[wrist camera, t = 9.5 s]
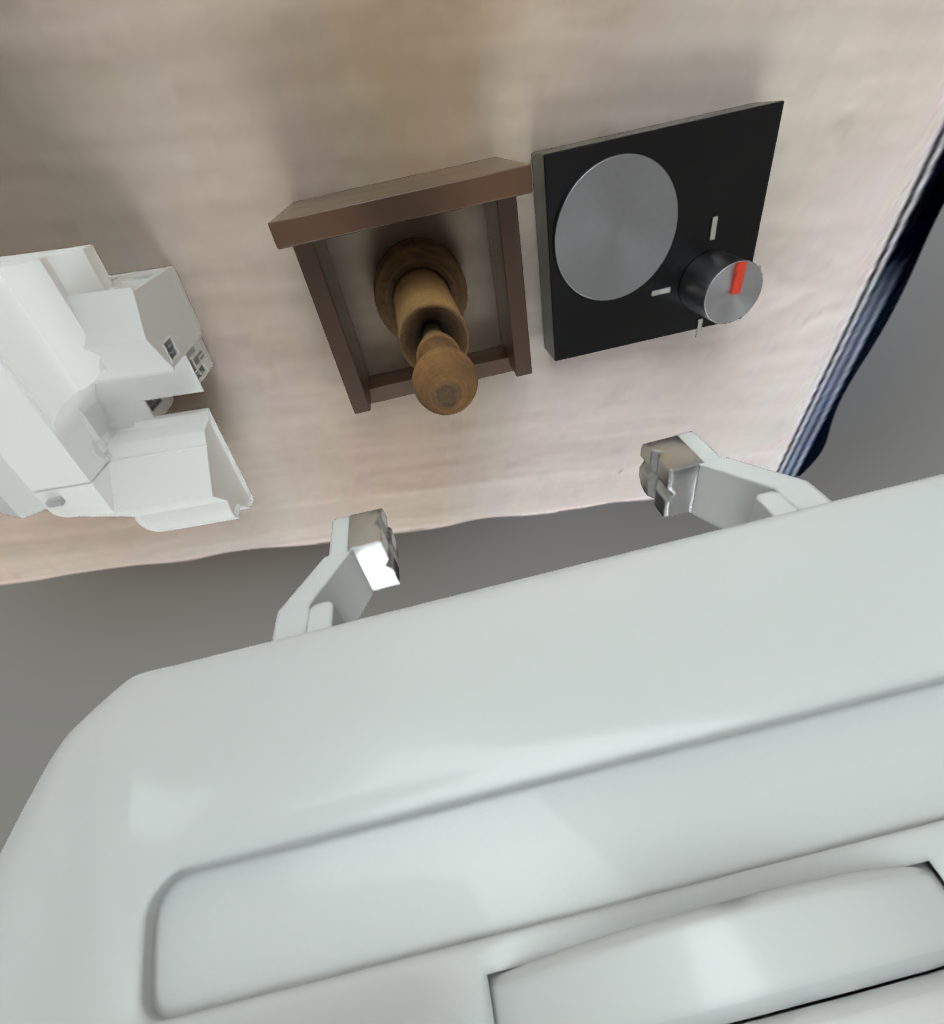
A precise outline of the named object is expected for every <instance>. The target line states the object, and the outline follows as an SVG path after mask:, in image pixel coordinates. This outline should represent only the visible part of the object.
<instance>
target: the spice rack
mask: <svg viewBox="0 0 944 1024" xmlns="http://www.w3.org/2000/svg"><path fill="white" fill-rule="evenodd" d="M532 191H533V189H532V174H531V165H530V164H526V163H522V162H517V161H512V160H507V159H502V158H497V157H493V158H488V159H484V160H479V161H475V162H470V163H466V164H462V165H457V166H453V167H448V168H444V169H439V170H435V171H430V172H426V173H421V174H417V175H413V176H408V177H404V178H399V179H395V180H390V181H386V182H381V183H377V184H372V185H368V186H364V187H359V188H355V189H350V190H346V191H341V192H337V193H332V194H328V195H323V196H319V197H315V198H310V199H306V200H301V201H297V202H293V203H292V204H291V205H290V206H288V207H287V208H286V209H285V210H284V211H282V212H281V213H280V214H279V215H278V216H276V217H275V218H274V219H273V220H272V221H270V222H269V223H268V226H269V228H270V231H271V233H272V236H273V238H274V241H275V244H276V246H277V248H278V249H284V248H288V247H293V248H294V251H295V253H296V256H297V259H298V261H299V264H300V267H301V269H302V272H303V275H304V278H305V280H306V283H307V286H308V288H309V291H310V294H311V296H312V299H313V302H314V305H315V307H316V310H317V313H318V315H319V318H320V321H321V323H322V326H323V329H324V332H325V334H326V337H327V340H328V342H329V345H330V348H331V350H332V353H333V356H334V359H335V361H336V364H337V367H338V369H339V372H340V375H341V377H342V380H343V383H344V386H345V388H346V391H347V394H348V396H349V399H350V402H351V405H352V407H353V410H354V413H355V414H358V413H362V412H366V411H370V410H371V403H375V402H380V401H384V400H388V399H393V398H397V397H401V396H406V395H410V394H415V392H414V389H413V384H412V376H413V371H414V368H413V367H408V368H404V369H399V370H395V371H391V372H386V373H382V374H378V375H373V376H369V374H368V371H367V368H366V365H365V362H364V359H363V356H362V353H361V350H360V347H359V344H358V341H357V338H356V335H355V332H354V329H353V326H352V323H351V320H350V316H349V313H348V310H347V307H346V304H345V301H344V298H343V295H342V292H341V289H340V286H339V283H338V280H337V277H336V274H335V271H334V268H333V265H332V262H331V259H330V256H329V253H328V250H327V247H326V244H325V241H324V239H328V238H333V237H337V236H341V235H346V234H350V233H355V232H359V231H364V230H368V229H372V228H377V227H381V226H386V225H390V224H395V223H399V222H404V221H408V220H412V219H417V218H421V217H426V216H430V215H435V214H439V213H443V212H448V211H452V210H457V209H461V208H466V207H470V206H474V205H479V204H483V203H484V211H485V219H486V226H487V234H488V242H489V250H490V257H491V265H492V273H493V281H494V288H495V296H496V304H497V312H498V319H499V327H500V335H501V343H502V346H500V347H495V348H491V349H486V350H482V351H478V352H473V353H469V354H467V356H468V357H469V358H470V359H471V361H472V362H473V364H474V366H475V368H476V371H477V376H478V379H480V378H484V377H488V376H493V375H497V374H501V373H506V372H510V371H514V373H515V374H516V376H517V377H518V376H522V375H527V374H531V373H532V367H531V356H530V345H529V334H528V323H527V312H526V301H525V290H524V278H523V267H522V256H521V245H520V234H519V223H518V212H517V201H516V196H519V195H523V194H528V193H532Z"/></svg>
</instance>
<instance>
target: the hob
mask: <svg viewBox="0 0 944 1024" xmlns="http://www.w3.org/2000/svg"><path fill="white" fill-rule="evenodd" d="M783 105H784V101H770V102H758V103H751V104H746V105H742V106H737V107H733V108H729V109H724V110H720V111H715V112H711V113H706V114H702V115H697V116H693V117H688V118H684V119H680V120H675V121H671V122H666V123H662V124H657V125H653V126H648V127H644V128H640V129H635V130H631V131H626V132H622V133H617V134H613V135H608V136H604V137H599V138H595V139H591V140H586V141H582V142H577V143H573V144H568V145H564V146H559V147H555V148H550V149H546V150H542V151H537V152H533V153H532V154H531V157H532V171H533V186H534V200H535V214H536V229H537V243H538V258H539V272H540V286H541V301H542V315H543V330H544V344H545V349H546V350H547V351H548V352H549V354H550V355H551V356H552V358H553V359H554V360H555V361H558V360H563V359H567V358H571V357H576V356H580V355H584V354H589V353H593V352H597V351H602V350H606V349H610V348H615V347H619V346H623V345H628V344H632V343H636V342H641V341H645V340H649V339H654V338H658V337H662V336H667V335H671V334H675V333H680V332H684V331H688V330H693V329H696V335H695V337H700V336H701V329H702V327H706V326H710V325H714V324H717V323H714V322H712V321H710V320H709V319H707V318H705V317H703V316H702V315H700V314H698V313H696V312H694V311H693V310H691V309H689V308H687V307H686V306H685V305H684V304H683V303H682V301H681V298H680V294H679V287H680V282H681V279H682V276H683V274H684V272H685V270H686V269H687V267H688V266H689V265H690V264H691V262H692V261H693V260H695V259H696V258H697V257H698V256H700V255H702V254H703V253H706V252H708V251H714V250H718V251H722V252H725V253H728V254H731V255H734V256H737V257H740V258H743V259H746V260H748V261H751V262H753V257H754V252H755V246H756V241H757V236H758V231H759V226H760V221H761V216H762V211H763V206H764V201H765V196H766V191H767V186H768V181H769V176H770V171H771V166H772V161H773V156H774V151H775V146H776V141H777V136H778V130H779V125H780V120H781V115H782V110H783ZM624 153H630V154H639V155H644V156H646V157H648V158H651V159H652V160H654V161H655V162H657V163H658V164H659V165H660V166H661V167H662V168H663V169H664V170H665V171H666V172H667V174H668V175H669V177H670V179H671V181H672V183H673V186H674V189H675V192H676V197H677V203H678V220H677V226H676V231H675V235H674V239H673V241H672V244H671V247H670V249H669V251H668V253H667V255H666V257H665V259H664V261H663V262H662V264H661V265H660V267H659V268H658V269H657V271H656V272H655V273H654V274H653V275H652V277H651V278H650V279H649V280H648V281H646V282H645V283H644V284H643V285H642V286H640V287H639V288H638V289H636V290H635V291H633V292H631V293H630V294H627V295H625V296H623V297H620V298H617V299H612V300H593V299H589V298H586V297H584V296H582V295H580V294H578V293H577V292H575V291H574V290H573V289H572V288H571V287H570V286H569V285H568V284H567V283H566V282H565V280H564V279H563V278H562V276H561V274H560V272H559V270H558V267H557V265H556V261H555V256H554V249H553V235H554V227H555V223H556V218H557V215H558V212H559V209H560V207H561V204H562V202H563V200H564V198H565V196H566V195H567V193H568V191H569V190H570V188H571V187H572V185H573V184H574V183H575V181H576V180H577V179H578V178H579V177H580V176H581V175H582V174H583V173H584V172H585V171H586V170H587V169H589V168H590V167H591V166H593V165H594V164H596V163H597V162H599V161H601V160H603V159H605V158H607V157H610V156H613V155H617V154H624ZM758 267H759V268H760V269H761V266H758ZM739 319H740V318H739Z"/></svg>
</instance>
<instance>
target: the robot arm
mask: <svg viewBox="0 0 944 1024" xmlns="http://www.w3.org/2000/svg"><path fill="white" fill-rule="evenodd" d="M641 457H642V458H643V459H644V462H643V463H642V465H641V466H640V470H639V477H640V482H641V485H642V488H643V490H644V491H645V493H646V494H647V496H650V497H652V498H655V500H654V505H655V506H656V508H657V509H658V510H659V512H660V513H661V514H662V516H663V517H664V518H668V517H672V516H677V515H681V514H685V513H690V512H692V514H693V515H696V516H697V517H699V518H701V519H703V520H705V521H707V522H709V523H711V524H713V525H715V526H717V527H718V528H720V530H716V531H712V532H708V533H704V534H701V535H697V536H692V537H688V538H684V539H680V540H676V541H672V542H668V543H664V544H660V545H656V546H652V547H648V548H644V549H640V550H636V551H632V552H628V553H624V554H620V555H616V556H612V557H608V558H604V559H600V560H596V561H592V562H588V563H584V564H580V565H576V566H572V567H568V568H564V569H560V570H556V571H552V572H548V573H544V574H540V575H536V576H532V577H528V578H524V579H520V580H516V581H512V582H508V583H504V584H500V585H496V586H491V587H487V588H483V589H479V590H475V591H471V592H467V593H463V594H459V595H455V596H451V597H447V598H443V599H440V600H435V601H431V602H427V603H423V604H419V605H415V606H411V607H407V608H403V609H399V610H395V611H391V612H387V613H383V614H379V615H375V616H371V617H367V618H363V619H359V618H360V616H361V614H362V612H363V610H364V609H365V607H366V605H367V603H368V601H369V600H370V598H371V596H372V594H373V591H376V590H380V589H383V588H387V587H390V586H394V585H398V584H400V581H399V567H398V565H397V562H396V560H397V558H398V550H397V545H396V541H395V537H394V534H393V532H392V529H391V528H389V527H388V525H387V517H386V514H385V512H384V510H383V509H382V508H381V509H376V510H372V511H368V512H363V513H359V514H354V515H351V516H346V517H342V518H338V519H334V521H333V523H332V532H331V543H330V553H329V556H327V557H325V558H324V559H323V560H322V561H321V562H320V563H319V565H318V566H317V567H316V568H315V569H314V571H313V572H312V573H311V574H310V575H309V576H308V577H307V579H306V580H305V581H304V582H303V583H302V584H301V586H300V587H299V588H298V589H297V590H296V592H295V593H294V594H293V595H292V596H291V597H290V599H289V600H288V601H287V602H286V603H285V604H284V606H283V607H282V608H281V609H280V610H279V612H278V613H277V618H276V624H275V629H274V634H273V639H272V641H271V642H267V643H262V644H258V645H254V646H251V647H246V648H242V649H239V650H234V651H230V652H226V653H223V654H218V655H214V656H210V657H206V658H202V659H199V660H195V661H190V662H186V663H182V664H178V665H173V666H169V667H165V668H160V669H156V670H152V671H148V672H145V673H142V674H139V675H137V676H134V677H132V678H130V679H129V680H127V681H126V682H125V683H123V684H122V685H121V686H120V687H119V688H118V689H116V690H115V691H114V692H113V693H111V694H110V695H109V696H108V697H107V698H106V699H105V700H104V701H103V702H102V703H101V704H99V705H98V706H97V707H96V708H95V709H94V710H93V711H92V712H91V713H90V714H89V715H88V716H86V717H85V718H84V719H83V720H82V721H81V722H80V723H79V724H78V725H77V726H76V727H75V728H74V729H73V730H72V731H71V732H70V733H69V734H68V735H67V736H66V737H65V739H64V740H63V742H62V743H61V745H60V746H59V747H58V749H57V750H56V752H55V754H54V755H53V757H52V758H51V760H50V761H49V763H48V765H47V766H46V768H45V770H44V772H43V774H42V776H41V777H40V779H39V781H38V783H37V785H36V787H35V788H34V790H33V792H32V794H31V796H30V798H29V800H28V801H27V803H26V805H25V807H24V809H23V811H22V813H21V815H20V816H19V818H18V820H17V822H16V824H15V826H14V829H13V830H12V832H11V834H10V836H9V838H8V840H7V842H6V844H5V846H4V848H3V850H2V852H1V854H0V1024H944V474H941V475H937V476H933V477H928V478H924V479H920V480H916V481H912V482H908V483H904V484H901V485H897V486H893V487H889V488H885V489H881V490H877V491H873V492H869V493H865V494H861V495H857V496H853V497H849V498H845V499H841V500H837V501H833V502H832V501H831V500H830V499H828V498H827V497H826V496H825V495H824V494H822V493H821V492H820V491H819V490H817V489H816V488H815V487H814V486H813V485H811V484H810V483H809V482H808V481H805V480H801V479H798V478H795V477H791V476H788V475H785V474H781V473H778V472H774V471H771V470H768V469H764V468H761V467H757V466H754V465H751V464H747V463H744V462H740V461H737V460H734V459H730V458H723V459H722V458H721V457H720V456H719V455H718V454H717V453H716V452H715V451H714V450H713V449H712V448H711V447H710V446H708V445H707V444H706V443H705V442H704V441H703V440H702V439H701V438H700V437H699V436H698V435H697V434H696V433H695V432H692V431H690V432H686V433H682V434H679V435H675V436H673V437H669V438H665V439H661V440H657V441H653V442H649V443H645V444H643V445H642V448H641ZM358 619H359V620H358Z"/></svg>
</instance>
